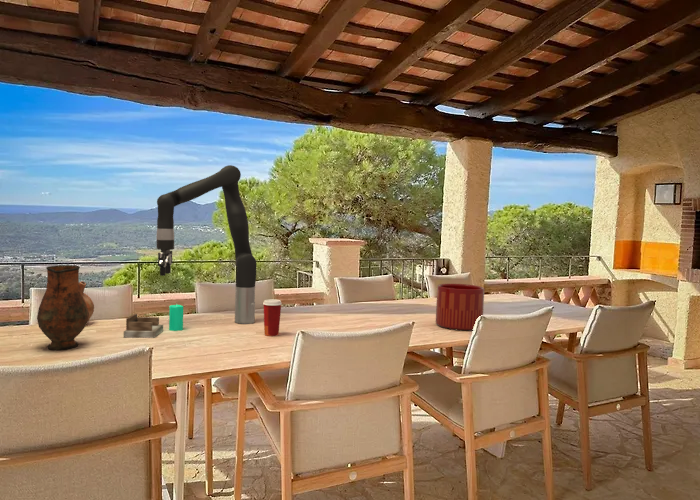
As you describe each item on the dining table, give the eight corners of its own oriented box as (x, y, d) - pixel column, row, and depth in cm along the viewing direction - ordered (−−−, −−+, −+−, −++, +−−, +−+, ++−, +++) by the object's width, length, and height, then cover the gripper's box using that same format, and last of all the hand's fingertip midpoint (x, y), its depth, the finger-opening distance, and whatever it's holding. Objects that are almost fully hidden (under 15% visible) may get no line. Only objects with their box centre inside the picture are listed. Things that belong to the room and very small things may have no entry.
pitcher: (29, 353, 176) (29, 268, 174) (48, 339, 196) (49, 262, 194) (82, 351, 180) (82, 269, 178) (95, 337, 201) (95, 263, 199)
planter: (463, 333, 235) (466, 290, 233) (426, 324, 252) (427, 284, 251) (491, 328, 250) (493, 287, 249) (454, 320, 267) (455, 282, 266)
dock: (163, 330, 218) (163, 313, 218) (154, 337, 204) (154, 319, 204) (134, 329, 217) (134, 312, 216) (123, 337, 203) (123, 319, 203)
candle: (170, 327, 223) (171, 301, 223) (184, 328, 224) (185, 301, 223) (167, 330, 217) (167, 303, 217) (181, 331, 218) (181, 303, 217)
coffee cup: (284, 333, 220) (285, 300, 219) (275, 337, 212) (276, 302, 211) (267, 331, 223) (268, 298, 222) (258, 335, 215) (259, 301, 214)
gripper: (169, 239, 219) (169, 276, 220) (178, 238, 233) (177, 273, 234) (151, 239, 218) (152, 276, 219) (161, 238, 232) (161, 272, 233)
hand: (165, 274), depth 227 cm, fingers open, 8 cm apart
